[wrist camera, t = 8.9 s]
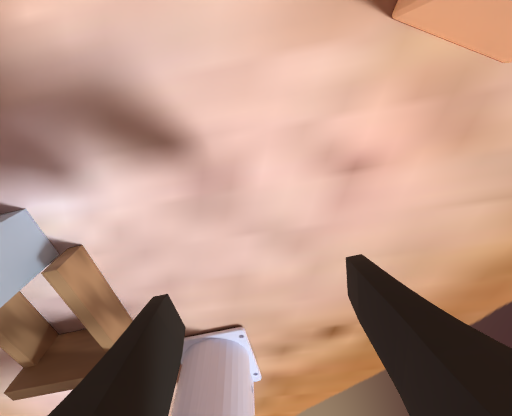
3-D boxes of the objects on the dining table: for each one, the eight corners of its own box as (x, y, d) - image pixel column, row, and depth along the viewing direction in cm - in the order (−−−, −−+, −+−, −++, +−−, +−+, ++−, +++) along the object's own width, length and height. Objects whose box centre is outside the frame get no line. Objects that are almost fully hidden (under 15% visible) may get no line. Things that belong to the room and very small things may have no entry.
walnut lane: (137, 327, 24) (113, 381, 20) (54, 344, 25) (13, 400, 20) (82, 245, 20) (34, 290, 15) (-19, 267, 20) (-94, 318, 16)
